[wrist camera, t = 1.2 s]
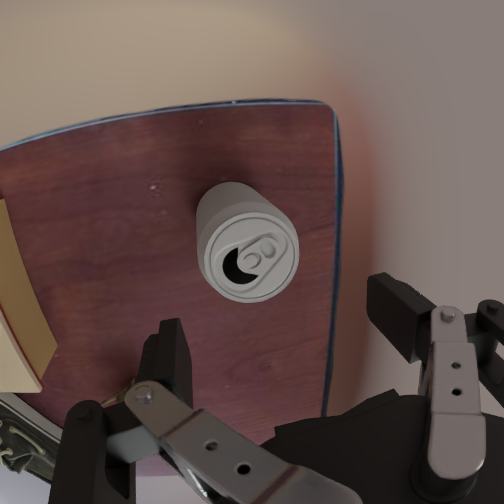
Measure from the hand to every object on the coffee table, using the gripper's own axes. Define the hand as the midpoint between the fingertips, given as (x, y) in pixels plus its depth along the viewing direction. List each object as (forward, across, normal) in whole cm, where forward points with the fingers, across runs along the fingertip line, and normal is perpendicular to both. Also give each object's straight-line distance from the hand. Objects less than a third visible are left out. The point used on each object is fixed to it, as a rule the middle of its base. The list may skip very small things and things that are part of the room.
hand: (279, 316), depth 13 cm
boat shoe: (+19, +38, +25) cm, 49 cm away
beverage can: (+18, 0, 0) cm, 18 cm away
